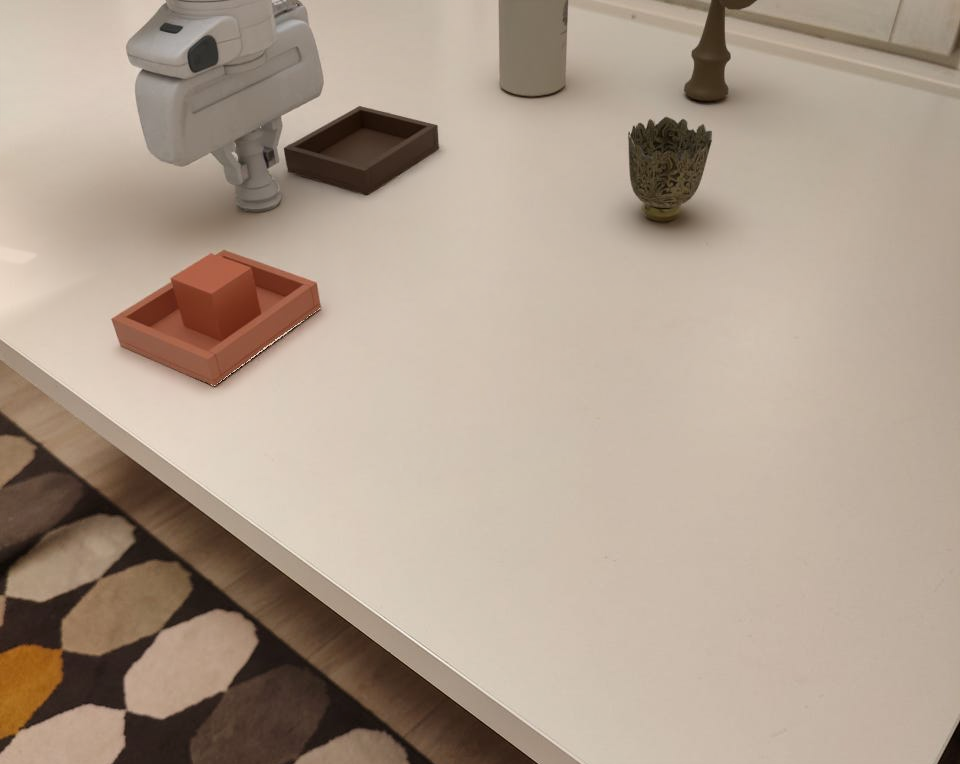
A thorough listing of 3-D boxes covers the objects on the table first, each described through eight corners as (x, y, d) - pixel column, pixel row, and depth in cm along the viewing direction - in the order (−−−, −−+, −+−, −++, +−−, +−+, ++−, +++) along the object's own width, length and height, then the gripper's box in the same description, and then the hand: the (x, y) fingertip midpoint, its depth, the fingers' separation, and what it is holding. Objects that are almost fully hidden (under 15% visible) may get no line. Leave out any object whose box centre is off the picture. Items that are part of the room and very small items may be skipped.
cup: (605, 216, 90) (611, 134, 85) (653, 190, 94) (662, 109, 88) (668, 242, 86) (679, 158, 81) (716, 214, 90) (729, 131, 84)
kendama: (702, 115, 107) (729, -87, 93) (663, 85, 114) (684, -107, 100) (749, 107, 108) (783, -93, 94) (708, 78, 115) (734, -113, 101)
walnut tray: (367, 195, 95) (364, 170, 93) (287, 171, 99) (283, 147, 97) (439, 148, 102) (437, 124, 100) (362, 128, 106) (359, 105, 105)
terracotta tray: (214, 387, 72) (207, 359, 70) (120, 345, 76) (110, 318, 75) (321, 309, 80) (317, 282, 78) (229, 275, 84) (223, 249, 82)
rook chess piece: (257, 189, 96) (241, 110, 91) (291, 198, 94) (277, 119, 89) (227, 207, 93) (209, 127, 88) (262, 217, 92) (246, 137, 86)
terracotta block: (223, 342, 75) (211, 293, 72) (183, 326, 77) (169, 277, 74) (262, 315, 78) (251, 267, 75) (222, 300, 80) (210, 252, 77)
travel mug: (490, 94, 113) (487, -76, 100) (510, 70, 118) (510, -94, 106) (555, 101, 111) (560, -72, 98) (572, 76, 116) (579, -91, 104)
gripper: (277, -15, 90) (299, 128, 99) (109, 51, 78) (152, 208, 87) (328, -5, 87) (346, 141, 97) (162, 65, 75) (202, 224, 84)
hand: (253, 173), depth 92 cm, fingers closed on rook chess piece, 3 cm apart
